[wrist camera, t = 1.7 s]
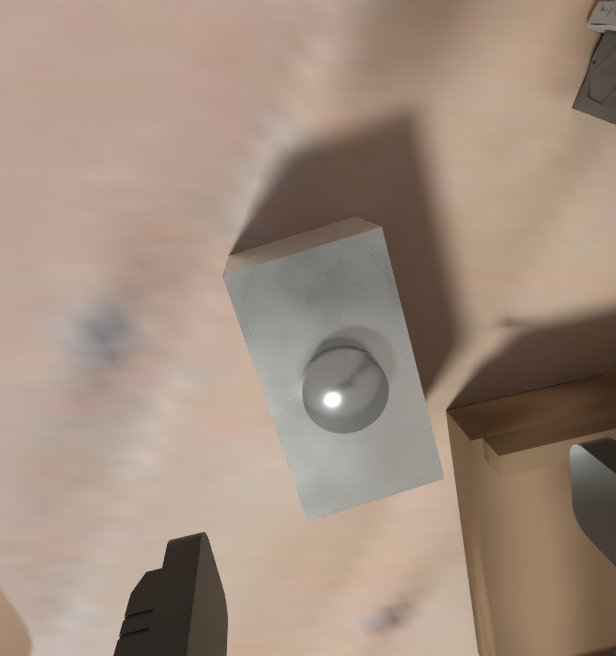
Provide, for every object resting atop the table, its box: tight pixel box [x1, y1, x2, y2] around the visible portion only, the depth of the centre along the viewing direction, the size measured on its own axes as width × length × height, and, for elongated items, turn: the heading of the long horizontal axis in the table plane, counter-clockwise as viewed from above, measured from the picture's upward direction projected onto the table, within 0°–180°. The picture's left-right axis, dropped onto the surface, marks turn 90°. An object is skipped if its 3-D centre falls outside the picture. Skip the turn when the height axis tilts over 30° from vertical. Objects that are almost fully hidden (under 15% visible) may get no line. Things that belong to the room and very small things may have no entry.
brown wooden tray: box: [446, 372, 616, 656], centre depth 25 cm, size 12×15×4 cm
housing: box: [223, 216, 444, 522], centre depth 21 cm, size 6×10×6 cm, turn 16°
